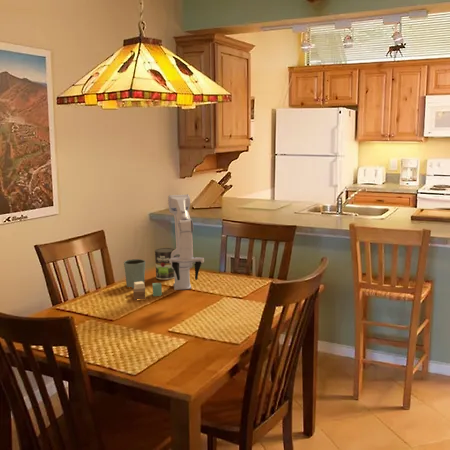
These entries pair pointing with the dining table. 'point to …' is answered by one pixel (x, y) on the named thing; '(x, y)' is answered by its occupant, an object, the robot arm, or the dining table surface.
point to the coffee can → (164, 264)
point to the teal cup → (134, 271)
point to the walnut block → (139, 293)
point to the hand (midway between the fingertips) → (187, 279)
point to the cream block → (139, 285)
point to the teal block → (157, 289)
